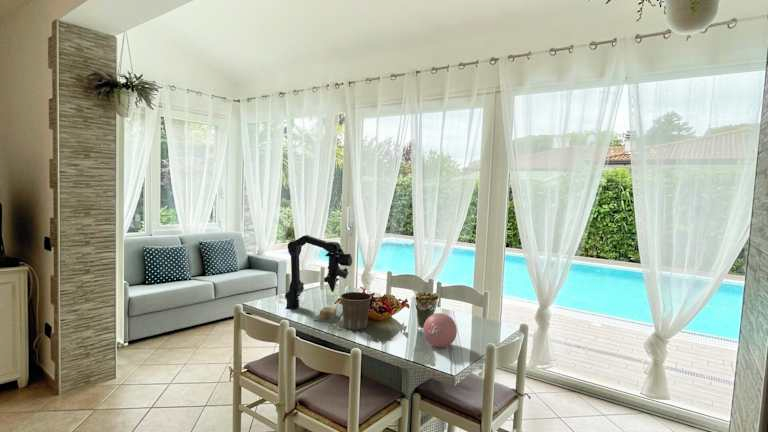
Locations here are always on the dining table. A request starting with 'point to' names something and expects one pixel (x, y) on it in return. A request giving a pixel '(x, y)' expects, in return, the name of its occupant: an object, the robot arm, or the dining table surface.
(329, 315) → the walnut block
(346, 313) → the plant pot
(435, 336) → the pink ball
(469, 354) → the dining table surface
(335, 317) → the mat
